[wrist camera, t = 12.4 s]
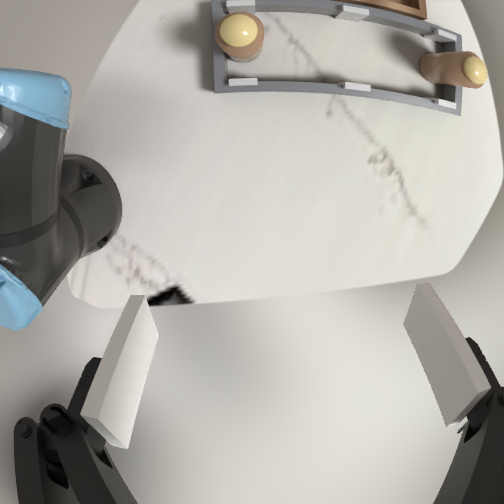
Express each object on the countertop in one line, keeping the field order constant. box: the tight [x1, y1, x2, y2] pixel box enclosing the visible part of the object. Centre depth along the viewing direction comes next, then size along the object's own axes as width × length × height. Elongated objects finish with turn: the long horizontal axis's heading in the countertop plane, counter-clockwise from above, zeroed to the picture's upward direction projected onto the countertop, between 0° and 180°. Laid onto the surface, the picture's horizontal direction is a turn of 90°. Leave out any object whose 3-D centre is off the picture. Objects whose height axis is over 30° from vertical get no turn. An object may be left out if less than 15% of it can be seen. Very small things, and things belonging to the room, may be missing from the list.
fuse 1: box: [215, 11, 264, 63], centre depth 24 cm, size 4×4×10 cm
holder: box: [212, 0, 462, 116], centre depth 26 cm, size 31×12×4 cm, turn 92°
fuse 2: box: [420, 51, 487, 88], centre depth 23 cm, size 4×4×10 cm
